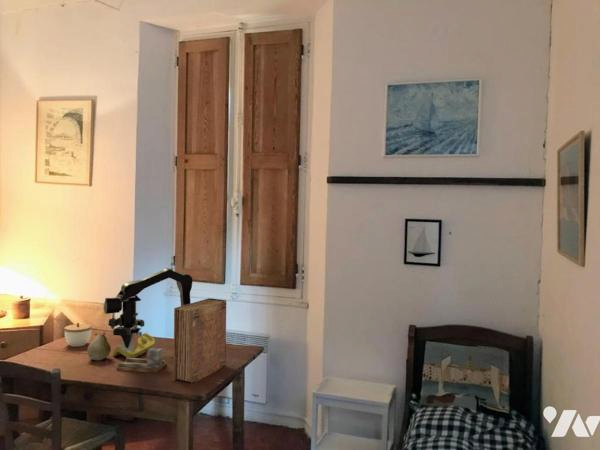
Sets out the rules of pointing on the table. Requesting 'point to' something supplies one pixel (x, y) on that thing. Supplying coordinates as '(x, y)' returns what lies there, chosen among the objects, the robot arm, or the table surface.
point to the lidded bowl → (77, 334)
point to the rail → (144, 362)
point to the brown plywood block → (199, 339)
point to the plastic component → (143, 345)
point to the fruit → (99, 348)
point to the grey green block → (131, 343)
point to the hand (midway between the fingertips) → (129, 346)
